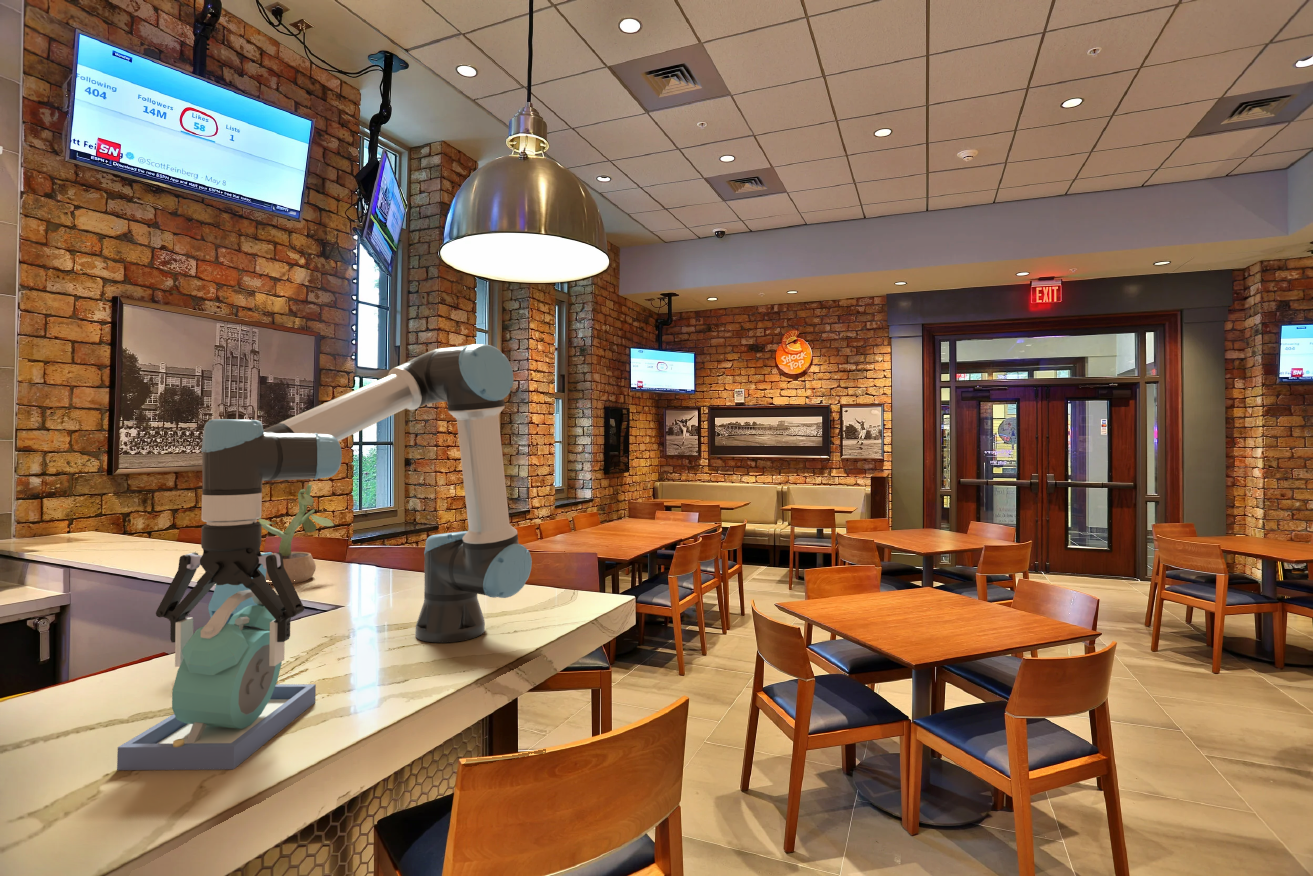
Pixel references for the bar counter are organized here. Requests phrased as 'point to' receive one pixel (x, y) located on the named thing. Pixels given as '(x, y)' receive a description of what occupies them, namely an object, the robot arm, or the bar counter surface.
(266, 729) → the shallow rectangular tray
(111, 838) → the bar counter surface
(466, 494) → the robot arm
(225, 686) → the alarm clock
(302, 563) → the potted plant
